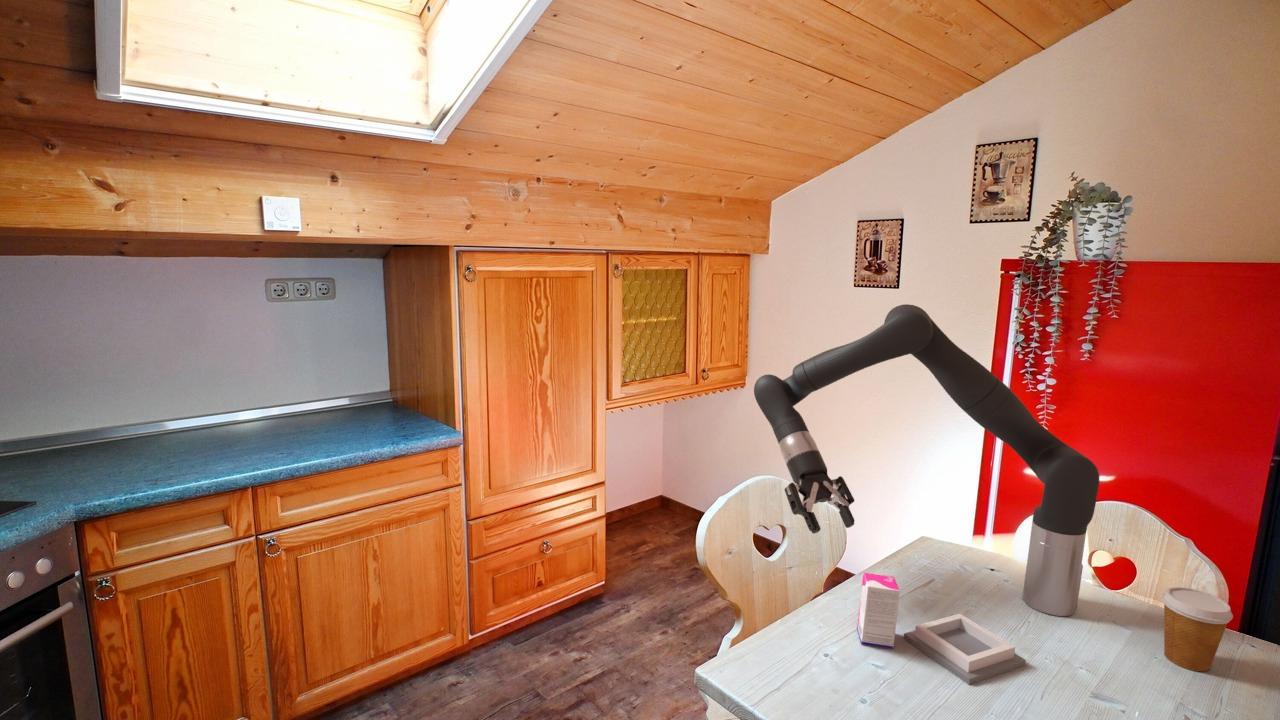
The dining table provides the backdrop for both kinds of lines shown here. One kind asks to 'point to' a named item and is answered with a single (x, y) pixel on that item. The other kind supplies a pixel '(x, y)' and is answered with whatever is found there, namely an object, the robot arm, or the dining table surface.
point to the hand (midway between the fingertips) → (834, 529)
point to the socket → (965, 648)
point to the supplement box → (878, 610)
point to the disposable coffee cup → (1193, 627)
